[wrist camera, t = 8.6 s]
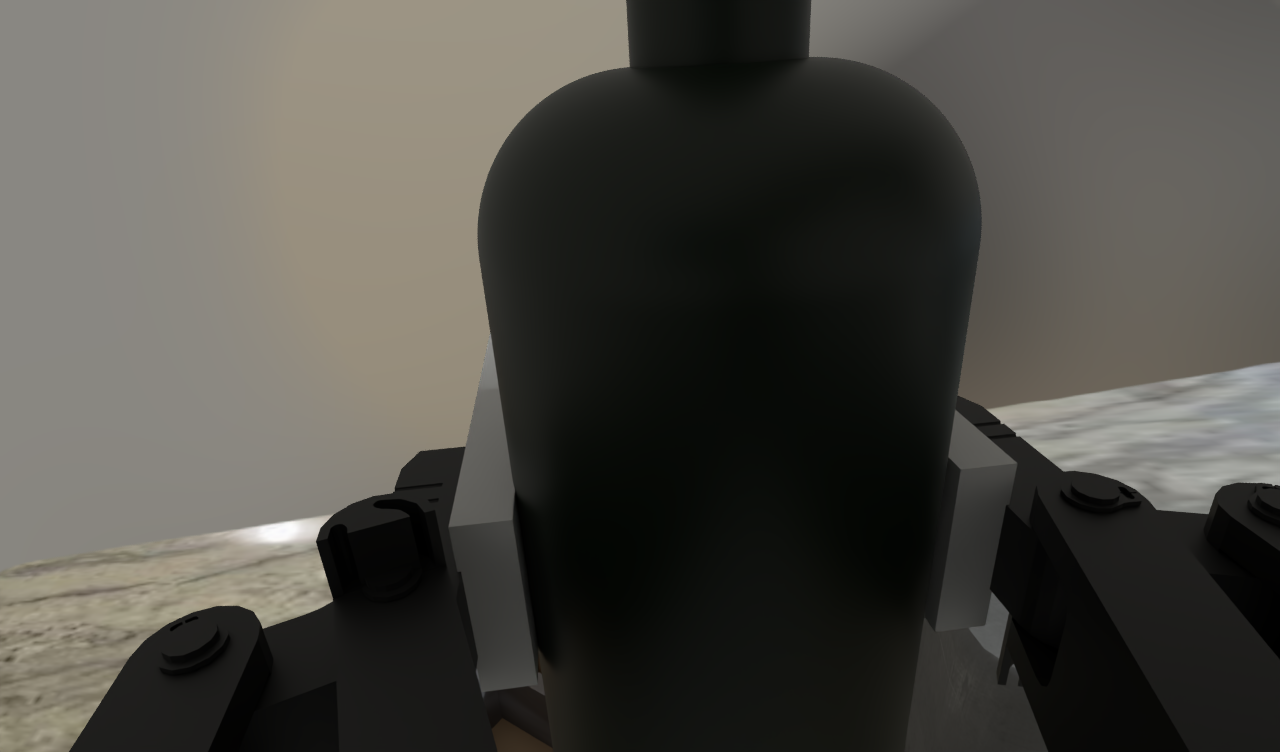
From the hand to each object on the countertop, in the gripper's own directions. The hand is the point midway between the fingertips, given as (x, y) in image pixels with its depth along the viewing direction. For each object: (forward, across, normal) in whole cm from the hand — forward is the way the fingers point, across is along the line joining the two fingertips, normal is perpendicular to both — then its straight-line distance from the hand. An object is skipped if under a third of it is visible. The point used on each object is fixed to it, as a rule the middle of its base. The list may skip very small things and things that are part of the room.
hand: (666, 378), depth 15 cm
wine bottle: (-5, 0, -16) cm, 17 cm away
